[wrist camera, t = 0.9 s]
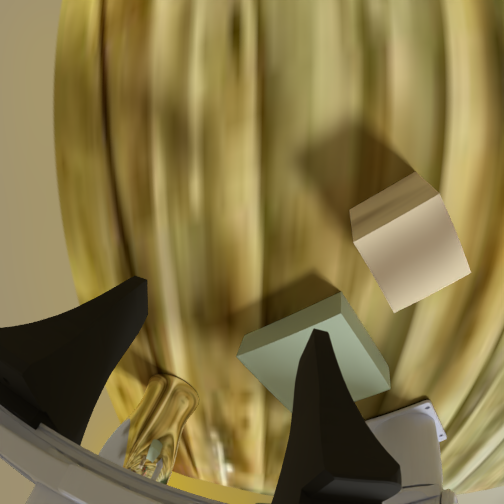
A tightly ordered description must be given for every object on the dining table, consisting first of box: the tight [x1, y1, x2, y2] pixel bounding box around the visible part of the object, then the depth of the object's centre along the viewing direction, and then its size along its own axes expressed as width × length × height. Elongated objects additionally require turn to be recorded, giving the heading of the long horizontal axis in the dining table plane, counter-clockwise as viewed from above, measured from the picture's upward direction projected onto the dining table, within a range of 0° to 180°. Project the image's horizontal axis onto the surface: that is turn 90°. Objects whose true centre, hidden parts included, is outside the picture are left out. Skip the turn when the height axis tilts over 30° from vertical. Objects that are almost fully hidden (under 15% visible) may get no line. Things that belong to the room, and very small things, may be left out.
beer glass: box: [98, 374, 199, 485], centre depth 26 cm, size 7×7×15 cm
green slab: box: [236, 292, 391, 413], centre depth 24 cm, size 9×9×3 cm
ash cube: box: [349, 171, 471, 313], centre depth 17 cm, size 5×5×5 cm
